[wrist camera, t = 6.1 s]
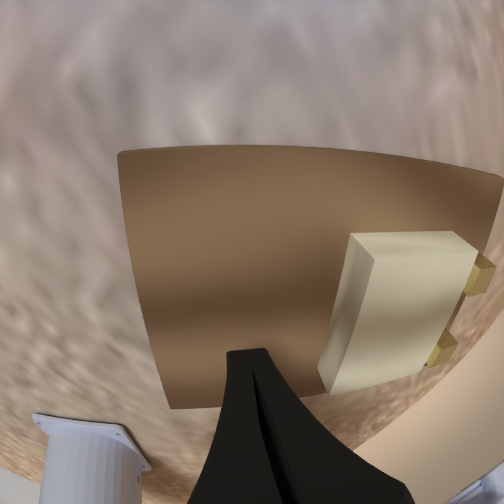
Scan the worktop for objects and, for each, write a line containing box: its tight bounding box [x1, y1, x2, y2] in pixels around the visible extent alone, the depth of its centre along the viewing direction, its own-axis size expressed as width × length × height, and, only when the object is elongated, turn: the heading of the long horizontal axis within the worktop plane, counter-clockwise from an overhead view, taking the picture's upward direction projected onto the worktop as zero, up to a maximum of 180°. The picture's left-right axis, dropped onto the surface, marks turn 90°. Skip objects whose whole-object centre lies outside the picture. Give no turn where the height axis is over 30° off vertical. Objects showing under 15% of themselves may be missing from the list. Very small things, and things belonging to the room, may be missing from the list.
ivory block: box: [317, 231, 478, 396], centre depth 13 cm, size 8×6×2 cm
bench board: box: [117, 145, 504, 409], centre depth 13 cm, size 14×18×1 cm
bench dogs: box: [426, 252, 497, 368], centre depth 13 cm, size 6×2×2 cm, turn 178°
